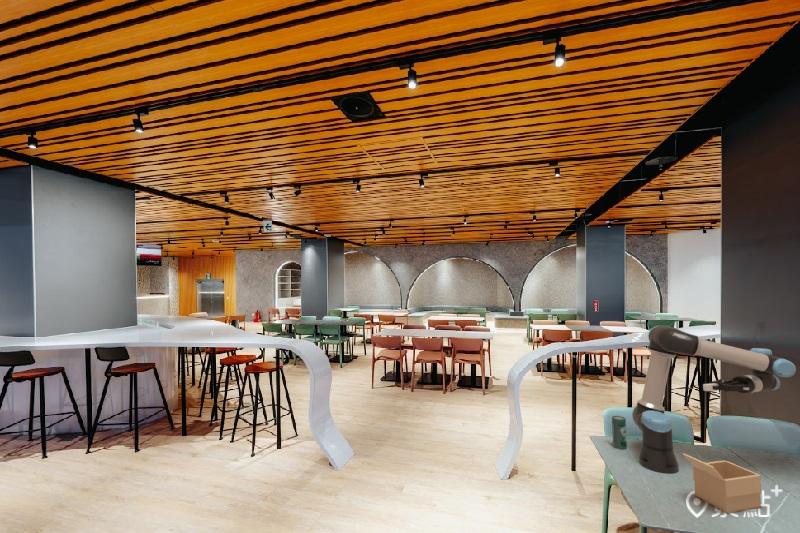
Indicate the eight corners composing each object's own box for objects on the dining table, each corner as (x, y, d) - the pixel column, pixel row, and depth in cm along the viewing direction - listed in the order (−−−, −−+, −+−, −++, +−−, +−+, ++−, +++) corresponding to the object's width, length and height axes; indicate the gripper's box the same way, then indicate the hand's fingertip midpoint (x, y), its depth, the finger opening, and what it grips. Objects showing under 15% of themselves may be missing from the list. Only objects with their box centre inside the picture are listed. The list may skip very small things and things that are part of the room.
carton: (728, 514, 138) (726, 480, 139) (694, 495, 151) (692, 464, 152) (763, 508, 142) (761, 475, 142) (727, 490, 154) (725, 460, 155)
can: (626, 450, 193) (625, 420, 194) (613, 448, 196) (611, 418, 197) (626, 446, 198) (625, 417, 199) (613, 443, 201) (612, 415, 202)
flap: (724, 479, 140) (723, 480, 140) (693, 465, 151) (693, 466, 151) (713, 466, 139) (712, 467, 139) (683, 453, 151) (682, 453, 150)
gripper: (763, 396, 167) (720, 400, 163) (732, 388, 180) (691, 392, 175) (762, 379, 168) (719, 382, 163) (730, 372, 181) (690, 375, 176)
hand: (704, 387), depth 169 cm, fingers closed
